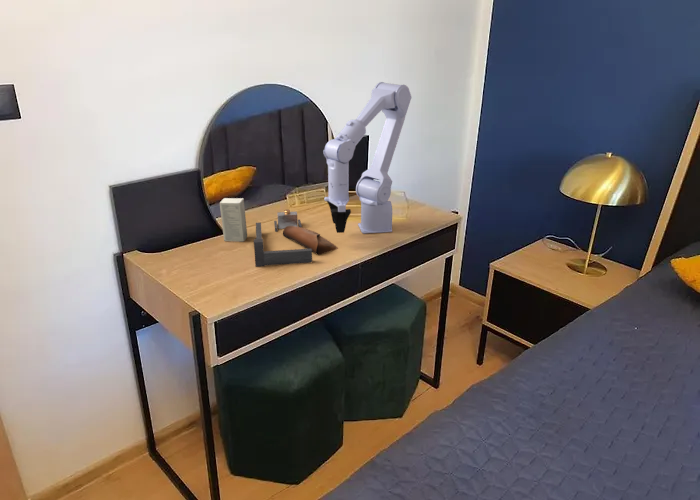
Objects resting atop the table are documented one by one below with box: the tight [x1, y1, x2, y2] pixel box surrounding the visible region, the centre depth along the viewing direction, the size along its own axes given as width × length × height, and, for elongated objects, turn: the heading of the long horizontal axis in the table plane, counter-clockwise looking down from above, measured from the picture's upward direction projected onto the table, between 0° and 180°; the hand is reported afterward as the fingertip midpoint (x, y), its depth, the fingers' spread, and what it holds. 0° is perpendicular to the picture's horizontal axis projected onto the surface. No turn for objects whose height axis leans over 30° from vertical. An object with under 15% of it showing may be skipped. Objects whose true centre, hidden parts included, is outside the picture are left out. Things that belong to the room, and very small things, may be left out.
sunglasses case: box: [282, 226, 339, 256], centre depth 166 cm, size 18×7×7 cm
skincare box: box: [219, 197, 248, 242], centre depth 167 cm, size 6×4×12 cm
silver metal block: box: [277, 209, 299, 230], centre depth 177 cm, size 6×3×5 cm, turn 99°
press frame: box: [253, 219, 313, 268], centre depth 165 cm, size 15×31×7 cm, turn 9°
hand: (338, 227), depth 166 cm, fingers open, 7 cm apart
